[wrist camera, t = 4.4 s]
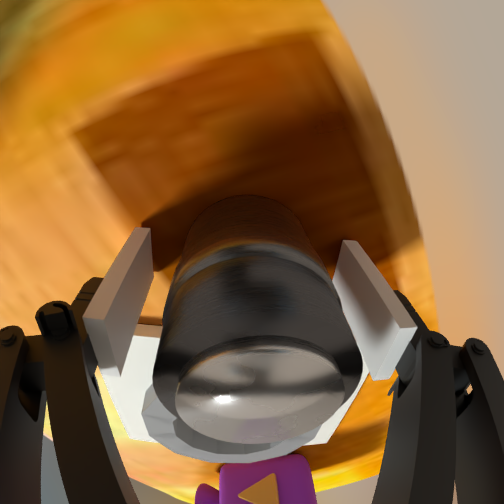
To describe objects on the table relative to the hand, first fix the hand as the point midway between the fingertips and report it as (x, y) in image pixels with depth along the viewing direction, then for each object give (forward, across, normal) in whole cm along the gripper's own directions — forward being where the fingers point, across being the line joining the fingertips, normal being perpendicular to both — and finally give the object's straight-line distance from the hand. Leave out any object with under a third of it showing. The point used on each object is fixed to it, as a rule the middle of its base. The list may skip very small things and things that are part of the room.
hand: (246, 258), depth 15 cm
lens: (0, 0, 0) cm, 0 cm away
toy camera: (+1, +3, -28) cm, 28 cm away
